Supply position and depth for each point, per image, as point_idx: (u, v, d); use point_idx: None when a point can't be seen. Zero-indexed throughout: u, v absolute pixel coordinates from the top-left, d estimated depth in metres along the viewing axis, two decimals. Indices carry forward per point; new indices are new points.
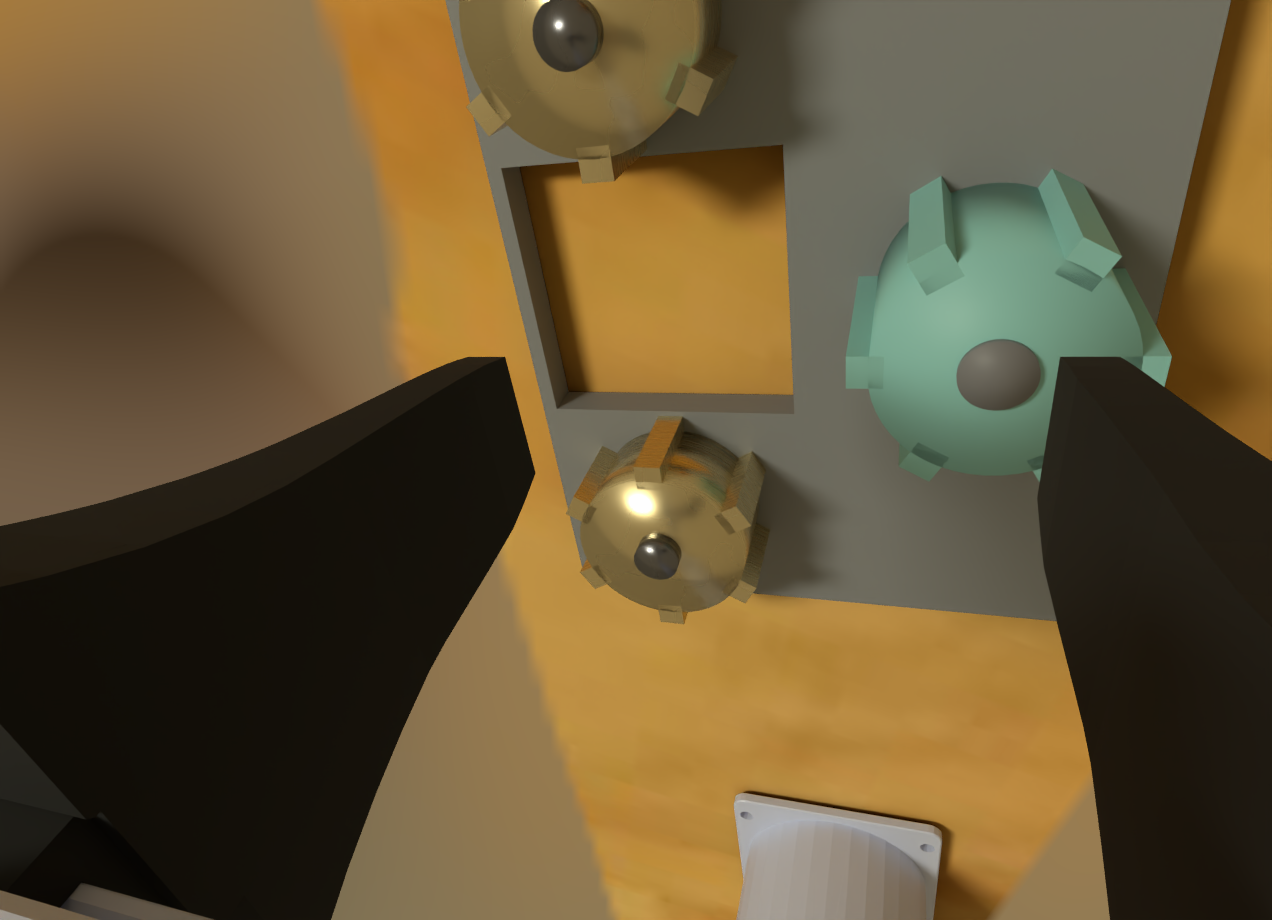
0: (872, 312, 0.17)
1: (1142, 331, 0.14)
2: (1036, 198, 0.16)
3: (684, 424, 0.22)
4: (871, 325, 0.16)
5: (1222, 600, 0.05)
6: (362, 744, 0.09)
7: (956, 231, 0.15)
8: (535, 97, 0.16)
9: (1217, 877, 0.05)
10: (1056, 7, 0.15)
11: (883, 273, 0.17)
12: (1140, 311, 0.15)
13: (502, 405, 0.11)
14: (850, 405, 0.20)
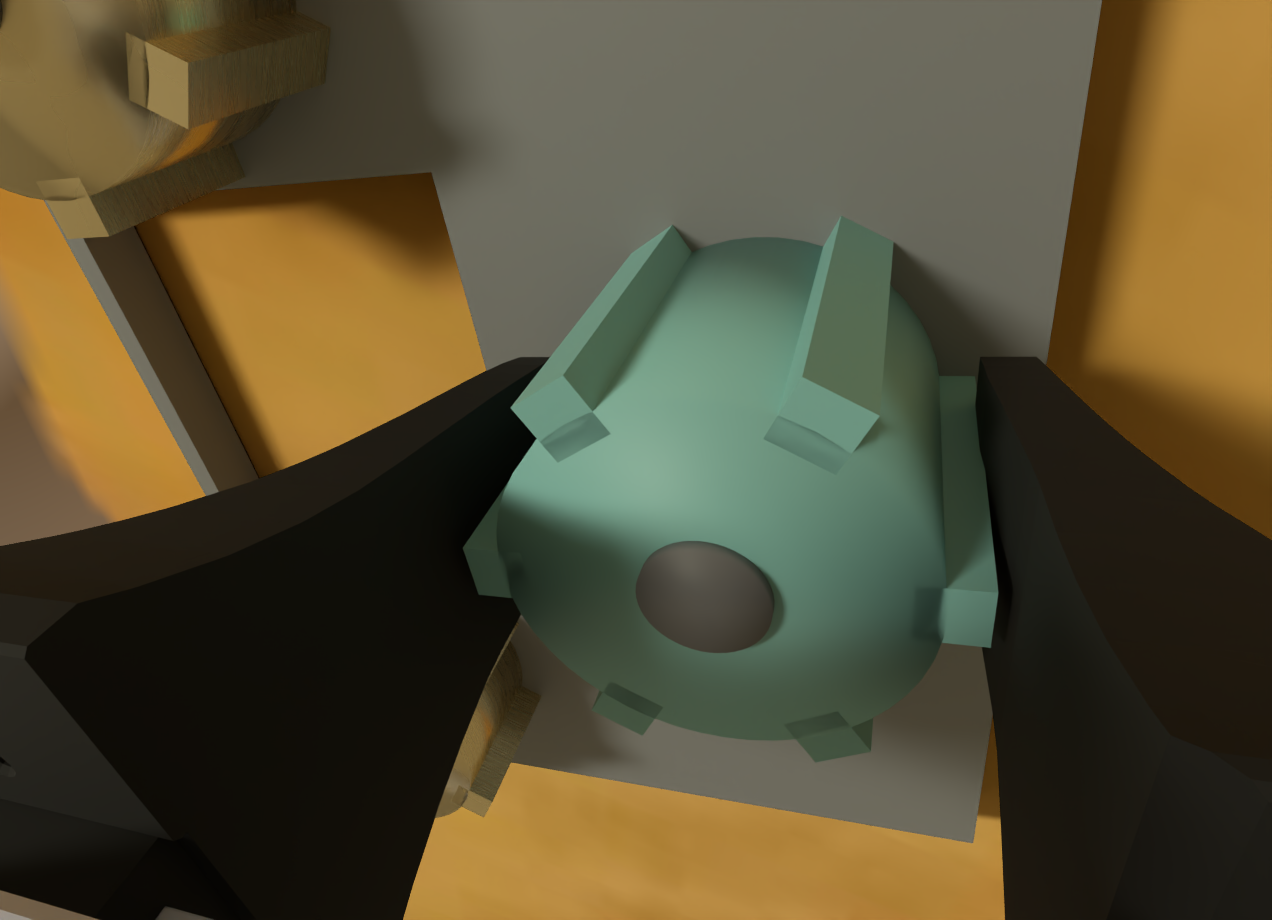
0: None
1: (962, 522, 0.08)
2: (804, 269, 0.09)
3: None
4: None
5: (1068, 588, 0.05)
6: (427, 756, 0.09)
7: (643, 333, 0.08)
8: None
9: (1060, 850, 0.05)
10: None
11: None
12: (972, 474, 0.09)
13: None
14: None
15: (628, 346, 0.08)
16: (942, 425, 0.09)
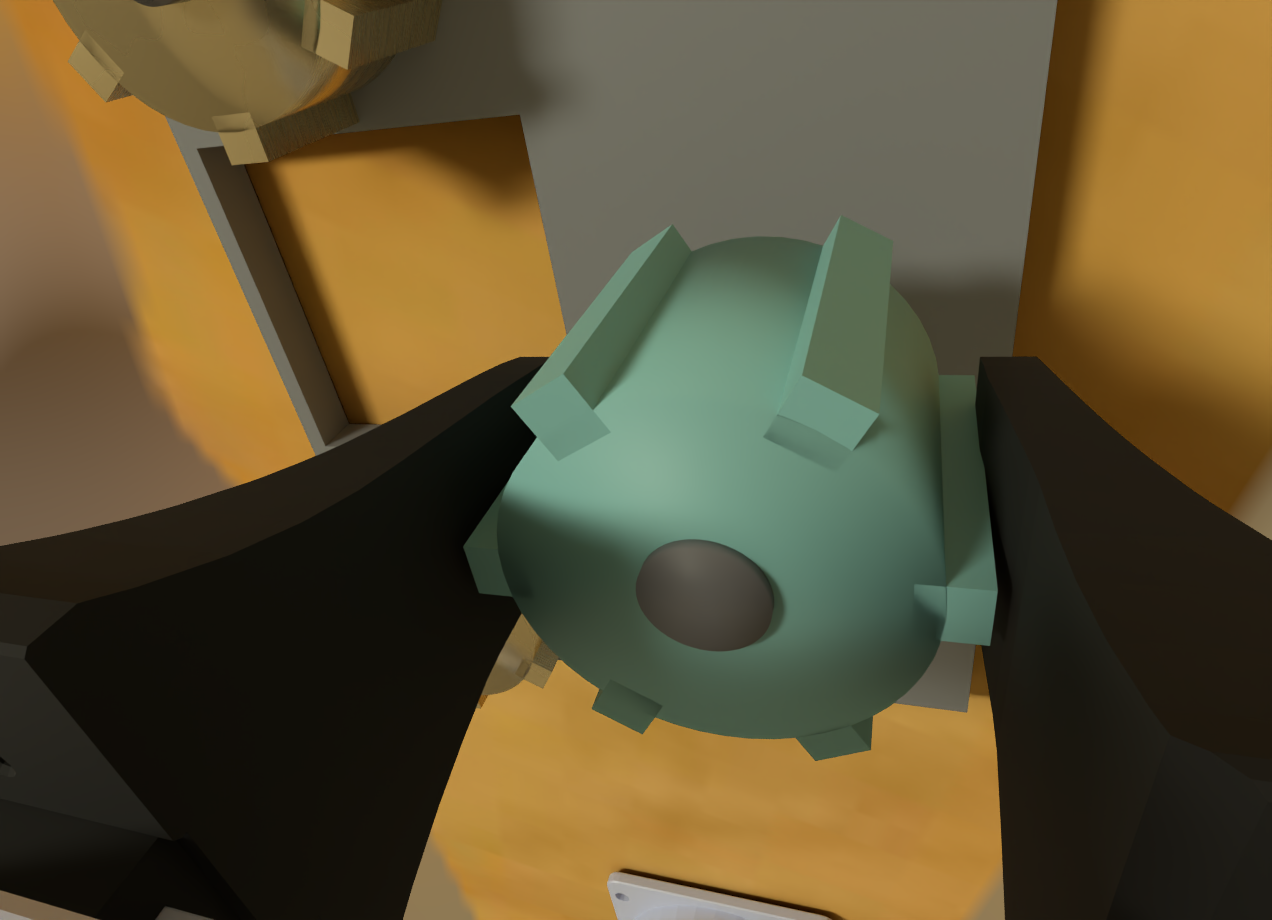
0: None
1: (962, 521, 0.08)
2: (804, 268, 0.09)
3: None
4: None
5: (1068, 588, 0.05)
6: (426, 756, 0.09)
7: (643, 332, 0.08)
8: (145, 46, 0.11)
9: (1059, 850, 0.05)
10: None
11: None
12: (972, 473, 0.09)
13: None
14: None
15: (628, 345, 0.08)
16: (942, 424, 0.09)
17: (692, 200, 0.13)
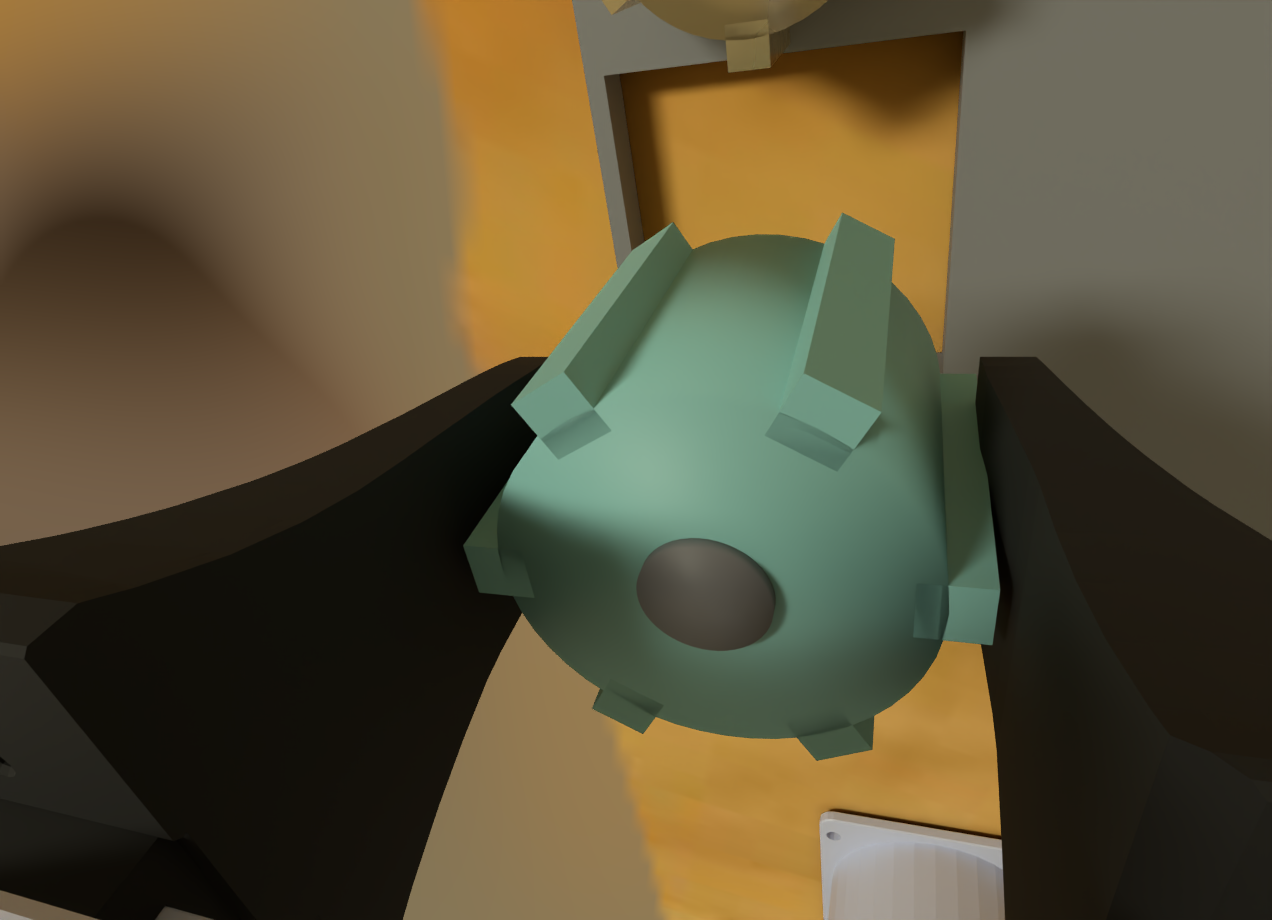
0: None
1: (963, 519, 0.08)
2: (805, 266, 0.09)
3: None
4: None
5: (1067, 588, 0.05)
6: (426, 756, 0.09)
7: (644, 330, 0.08)
8: None
9: (1059, 850, 0.05)
10: None
11: None
12: (973, 471, 0.09)
13: None
14: None
15: (629, 343, 0.08)
16: (943, 423, 0.09)
17: (1128, 109, 0.14)
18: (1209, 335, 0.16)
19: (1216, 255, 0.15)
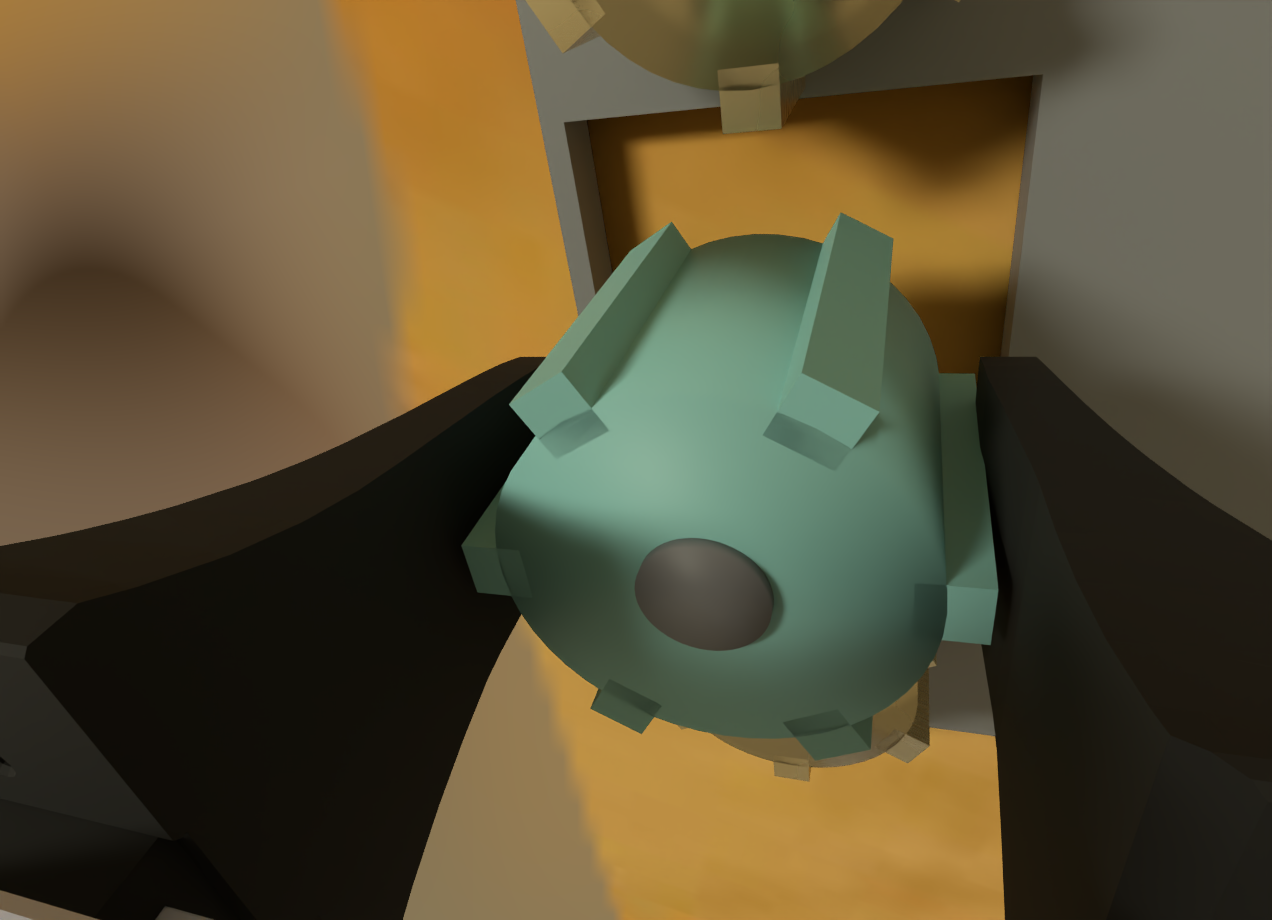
0: None
1: (961, 518, 0.08)
2: (804, 266, 0.09)
3: None
4: None
5: (1068, 588, 0.05)
6: (426, 756, 0.09)
7: (642, 330, 0.08)
8: None
9: (1060, 850, 0.05)
10: None
11: None
12: (972, 472, 0.09)
13: None
14: None
15: (627, 343, 0.08)
16: (942, 422, 0.09)
17: (1260, 182, 0.10)
18: None
19: None
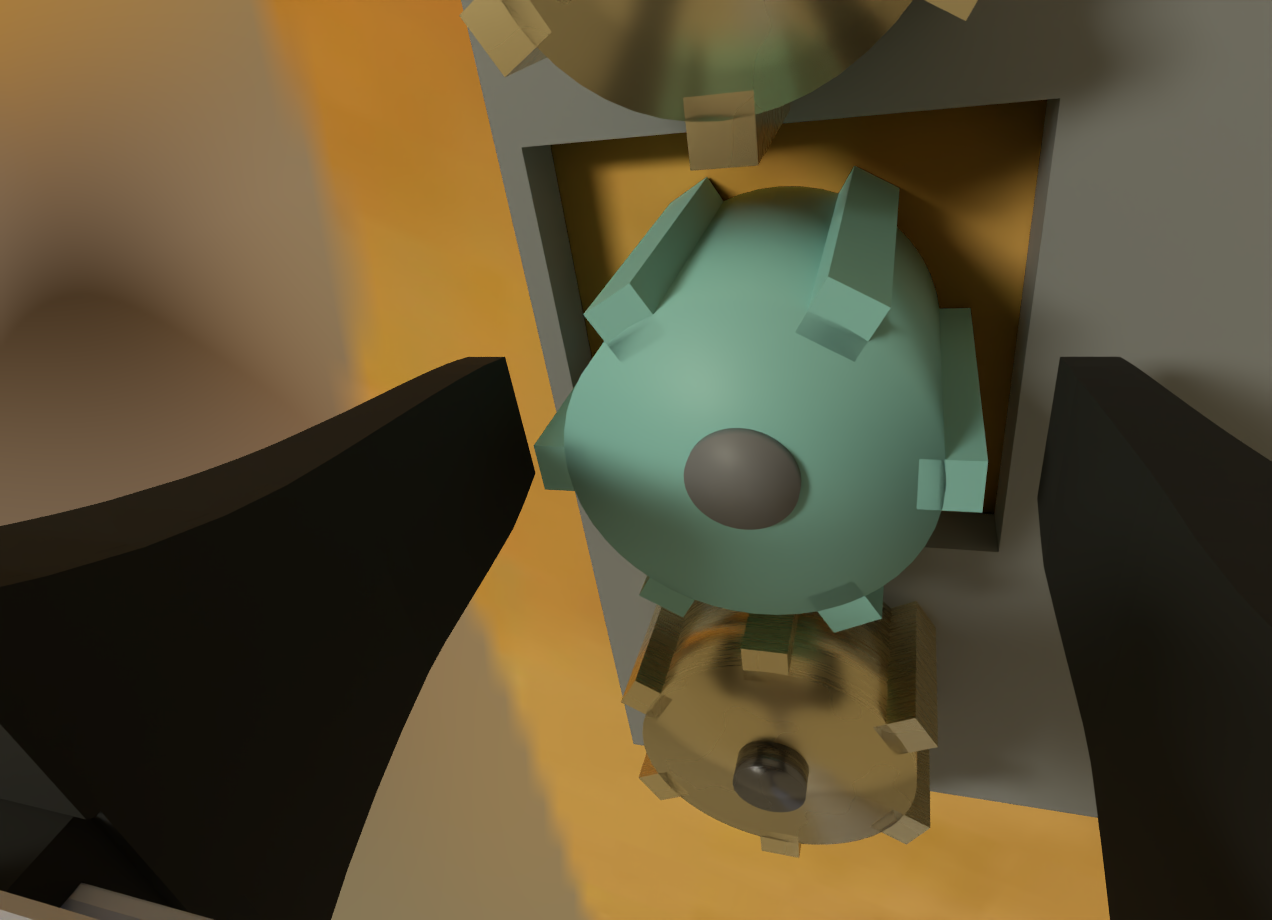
0: None
1: (957, 414, 0.09)
2: (823, 209, 0.11)
3: None
4: None
5: (1223, 600, 0.05)
6: (362, 744, 0.09)
7: (688, 260, 0.10)
8: None
9: (1217, 877, 0.05)
10: None
11: None
12: (967, 380, 0.10)
13: (502, 405, 0.11)
14: None
15: (677, 268, 0.10)
16: (942, 345, 0.11)
17: None
18: None
19: None
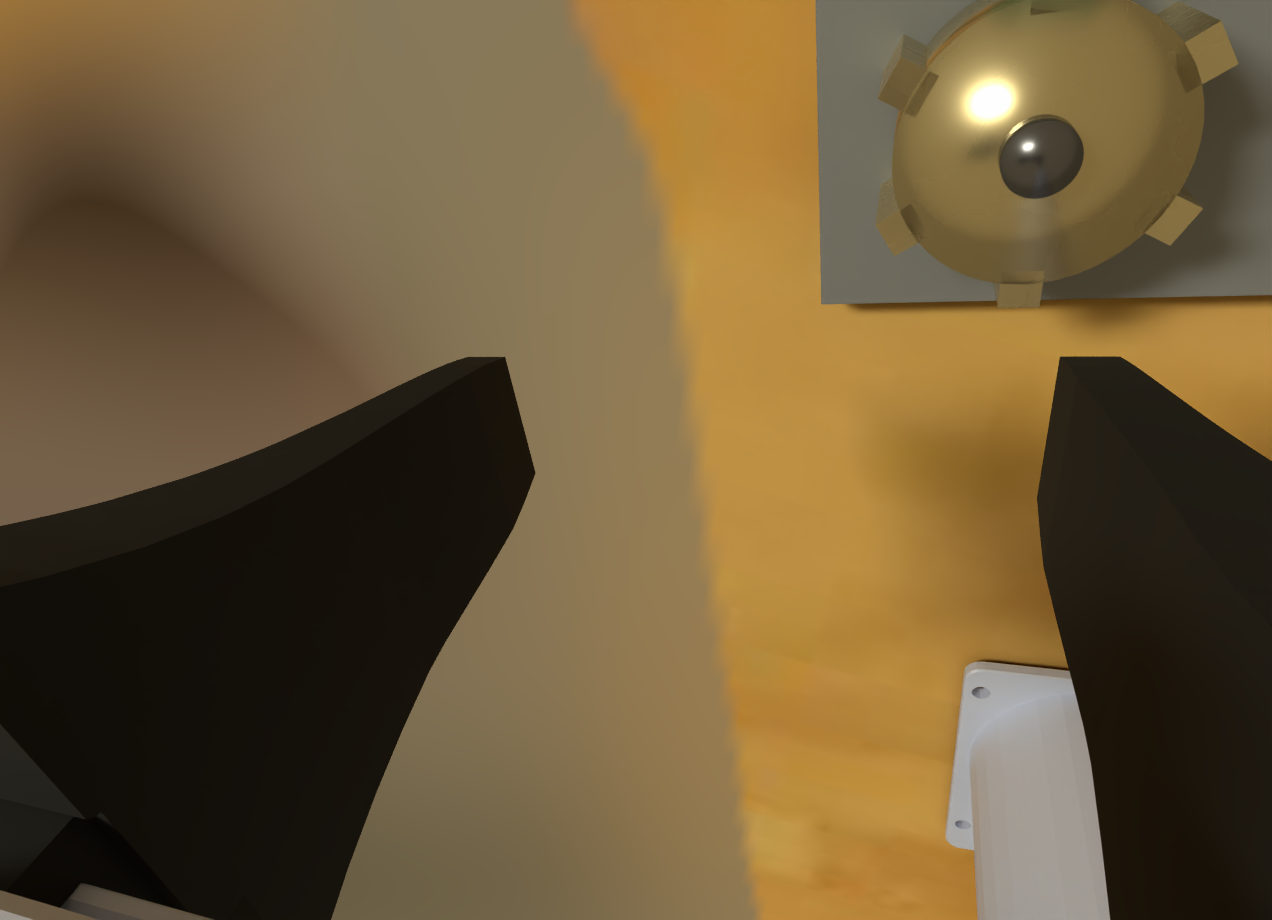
0: None
1: None
2: None
3: None
4: None
5: (1222, 600, 0.05)
6: (362, 744, 0.09)
7: None
8: None
9: (1217, 877, 0.05)
10: None
11: None
12: None
13: (502, 405, 0.11)
14: None
15: None
16: None
17: None
18: None
19: None
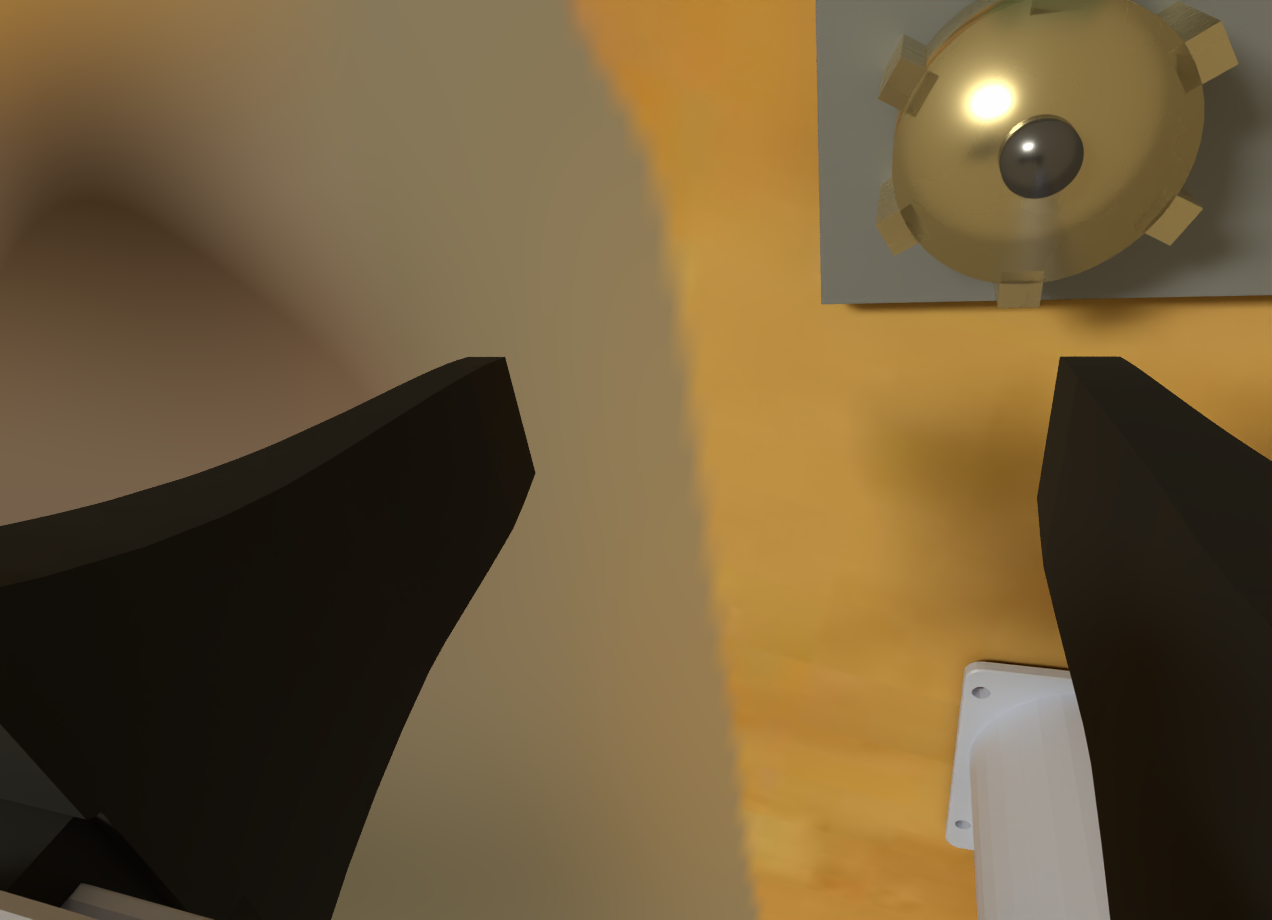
0: None
1: None
2: None
3: None
4: None
5: (1222, 600, 0.05)
6: (362, 744, 0.09)
7: None
8: None
9: (1217, 877, 0.05)
10: None
11: None
12: None
13: (502, 405, 0.11)
14: None
15: None
16: None
17: None
18: None
19: None
